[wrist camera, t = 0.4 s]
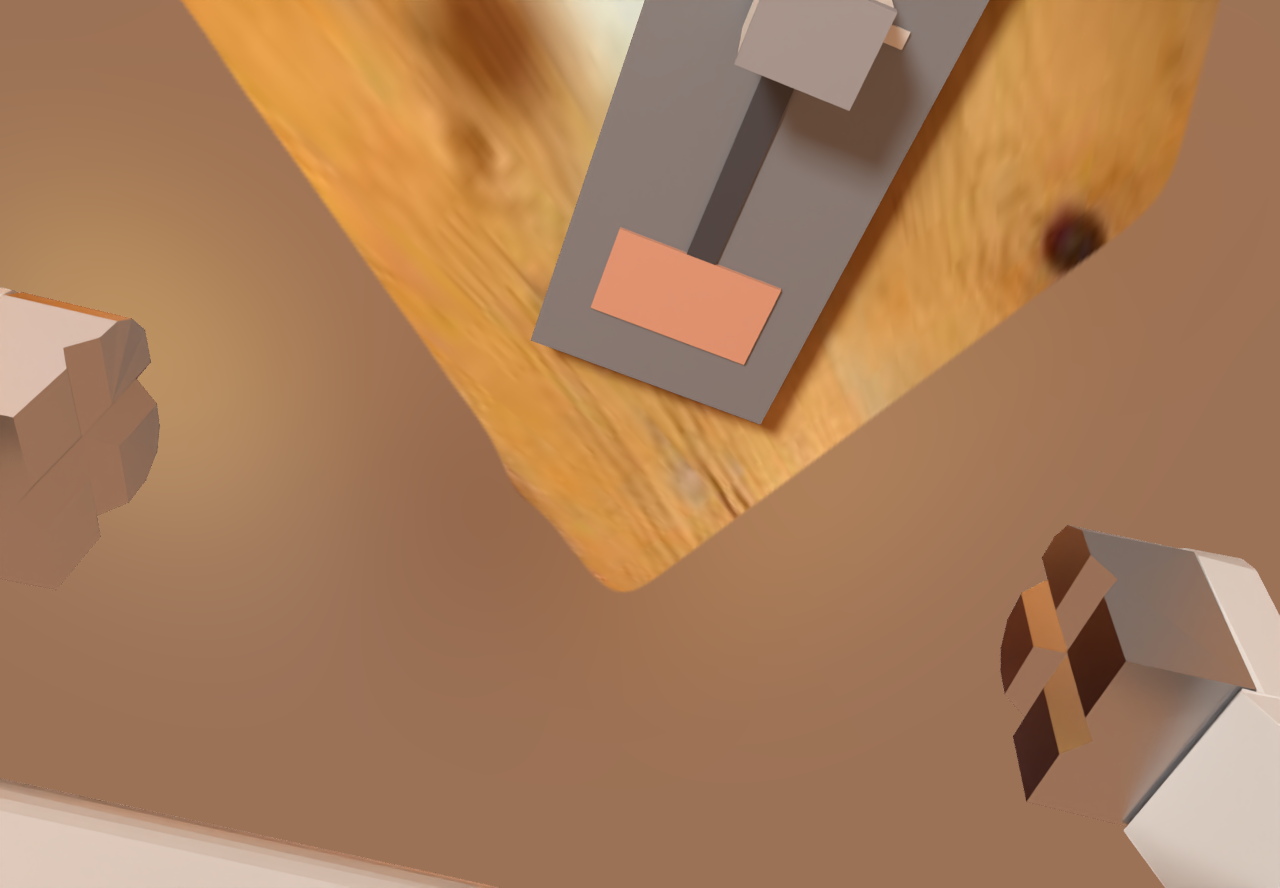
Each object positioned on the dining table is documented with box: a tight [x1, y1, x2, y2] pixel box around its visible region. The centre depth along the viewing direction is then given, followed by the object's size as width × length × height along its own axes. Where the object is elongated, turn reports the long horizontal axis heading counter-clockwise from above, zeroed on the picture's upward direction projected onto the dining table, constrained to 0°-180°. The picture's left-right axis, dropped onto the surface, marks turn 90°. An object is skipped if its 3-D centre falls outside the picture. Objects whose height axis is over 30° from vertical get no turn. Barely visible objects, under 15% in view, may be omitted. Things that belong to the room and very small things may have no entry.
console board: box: [531, 0, 989, 425], centre depth 51 cm, size 28×14×3 cm, turn 161°
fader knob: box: [735, 0, 897, 111], centre depth 43 cm, size 4×5×5 cm
